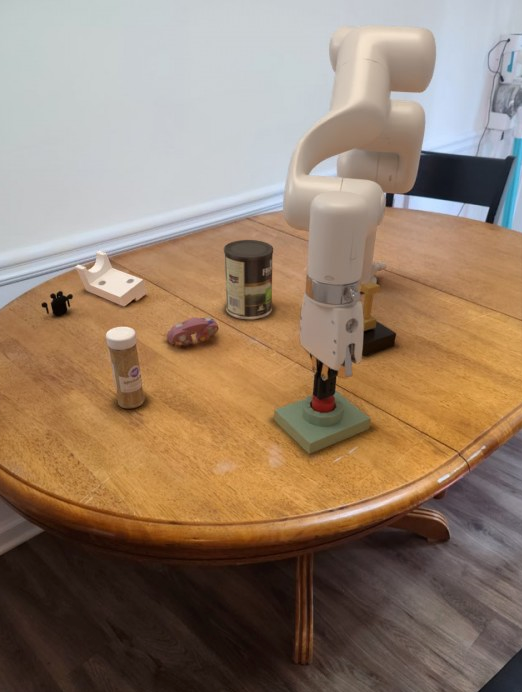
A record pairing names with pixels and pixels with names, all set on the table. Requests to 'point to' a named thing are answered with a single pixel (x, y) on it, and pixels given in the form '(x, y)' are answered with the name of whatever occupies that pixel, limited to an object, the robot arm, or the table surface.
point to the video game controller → (192, 330)
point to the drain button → (323, 404)
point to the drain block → (321, 422)
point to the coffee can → (248, 279)
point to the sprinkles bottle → (125, 366)
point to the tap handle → (369, 304)
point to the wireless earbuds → (58, 303)
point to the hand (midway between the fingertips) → (323, 394)
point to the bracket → (111, 281)
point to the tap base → (377, 339)
